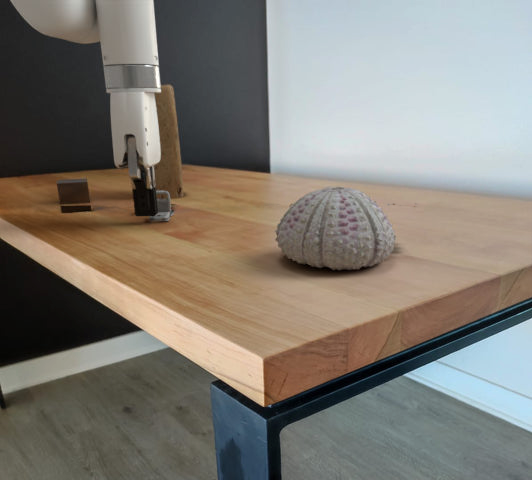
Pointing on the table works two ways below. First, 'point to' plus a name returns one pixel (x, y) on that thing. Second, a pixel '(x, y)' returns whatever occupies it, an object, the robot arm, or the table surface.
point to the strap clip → (163, 208)
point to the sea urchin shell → (336, 230)
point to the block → (168, 146)
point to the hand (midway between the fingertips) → (146, 215)
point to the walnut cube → (73, 195)
